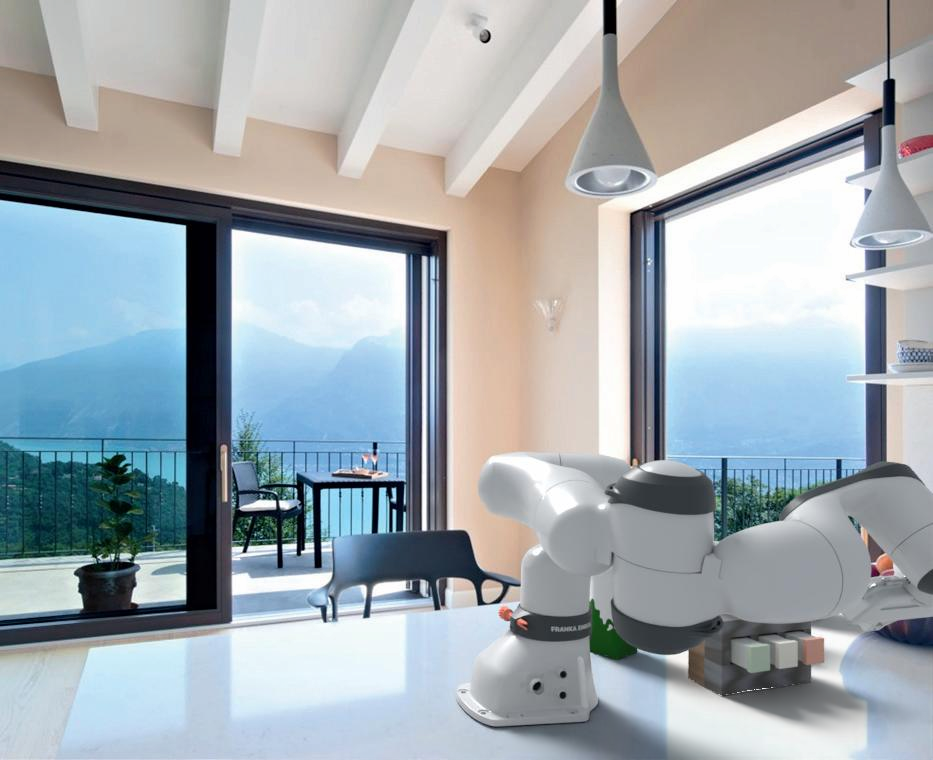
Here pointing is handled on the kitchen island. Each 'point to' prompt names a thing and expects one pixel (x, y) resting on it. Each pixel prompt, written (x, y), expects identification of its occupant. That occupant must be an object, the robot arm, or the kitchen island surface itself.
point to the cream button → (781, 650)
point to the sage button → (750, 654)
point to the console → (726, 677)
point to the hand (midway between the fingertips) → (867, 626)
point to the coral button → (808, 647)
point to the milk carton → (605, 619)
